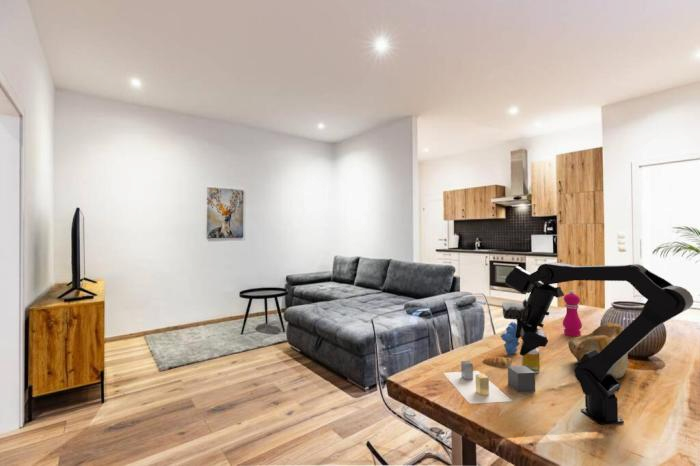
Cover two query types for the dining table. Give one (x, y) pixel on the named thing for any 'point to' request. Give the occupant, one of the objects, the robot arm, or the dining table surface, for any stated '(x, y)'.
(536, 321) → the robot arm
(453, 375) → the board
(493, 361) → the pastry
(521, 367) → the dark gray block
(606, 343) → the rough brown rock
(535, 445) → the dining table surface
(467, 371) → the steel post
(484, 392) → the pale wooden block
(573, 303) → the pepper mill
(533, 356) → the supplement bottle
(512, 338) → the grapes
